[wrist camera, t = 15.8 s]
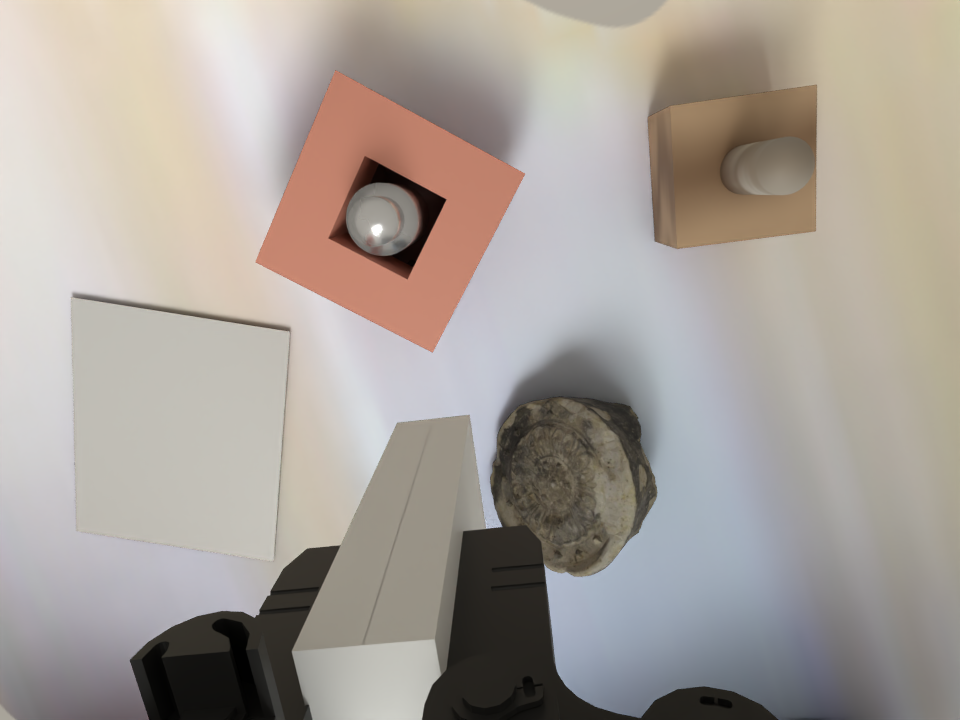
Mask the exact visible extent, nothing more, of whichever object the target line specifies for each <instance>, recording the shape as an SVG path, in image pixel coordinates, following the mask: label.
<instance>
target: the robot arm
mask: <svg viewBox="0 0 960 720" xmlns="http://www.w3.org/2000/svg"><path fill="white" fill-rule="evenodd" d="M270 592H271V595H270V596H267V598H266V600H265V602H264V603H263V605H262V607H261V608H260V610H259V612H260V613H259V615H256V617H255V618H254V617H252V616H250V615H248V614H246V613H244V612H230V611H221V612H216V613H211V614H206V615H201V616H197V617H195V618H192V619H190V620H188V621H185V622H183V623H180V624H178V625H175V626H173V627H171V628H170V629H168V630H167V631H165V632H163V633H162V634H160V635H159V636H157V637H156V638H154V639H152V640H151V641H149V642H148V643H147V644H146V645H145V646H144V647H143V648H142V649H141V650H140V651H139V652H138V653H137V654H136V655H135V656H133V657H132V658H131V659H130V662H131V665H132V668H133V671H134V675H135V678H136V681H137V684H138V687H139V690H140V693H141V696H142V699H143V702H144V705H145V708H146V711H147V714H148V717H149V720H778V719H777V718H776V717H775V716H774V715H772V714H771V713H770V712H769V711H768V710H767V709H765V708H764V707H763V706H762V705H760V704H758V703H756V702H754V701H752V700H750V699H748V698H746V697H744V696H741V695H739V694H737V693H735V692H732V691H727V690H721V689H715V688H710V687H695V688H686V689H677V690H675V691H673V692H671V693H669V694H667V695H665V696H663V697H661V698H659V699H657V700H655V701H654V703H653V704H652V705H651V706H650V708H649V709H648V710H647V711H646V712H645V714H644V715H643V716H642V717H641V718H636V717H632V716H627V715H622V714H617V713H613V712H610V711H607V710H603V709H600V708H597V707H594V706H593V705H591V704H589V703H587V702H585V701H584V700H582V699H580V698H578V697H577V696H576V695H575V694H574V693H573V692H572V691H570V690H569V689H568V688H567V687H566V686H565V684H564V683H563V681H562V680H561V678H560V677H559V675H558V674H557V670H556V665H555V656H554V646H553V637H552V628H551V619H550V611H549V602H548V594H547V586H546V577H545V569H544V560H543V552H542V544H541V541H540V540H539V539H538V538H537V536H536V535H535V534H534V533H533V532H532V531H531V530H530V529H529V528H528V526H527V525H520V526H510V527H500V528H490V529H486V525H485V519H484V512H483V505H482V498H481V491H480V484H479V477H478V470H477V463H476V456H475V449H474V442H473V435H472V428H471V421H470V415H464V416H455V417H446V418H437V419H428V420H419V421H410V422H401V423H397V424H396V427H395V429H394V431H393V433H392V435H391V437H390V440H389V442H388V444H387V446H386V448H385V450H384V453H383V455H382V457H381V459H380V461H379V463H378V466H377V468H376V470H375V472H374V474H373V476H372V479H371V481H370V483H369V485H368V487H367V489H366V492H365V494H364V496H363V498H362V500H361V502H360V505H359V507H358V509H357V511H356V513H355V515H354V518H353V520H352V522H351V524H350V526H349V528H348V531H347V533H346V535H345V537H344V539H343V541H342V544H341V545H340V546H330V547H320V548H309V549H306V550H305V551H304V552H303V553H302V554H300V555H299V556H298V557H297V558H296V559H295V560H293V561H292V562H291V563H290V564H289V565H288V566H286V567H285V568H284V569H283V571H282V572H281V574H280V576H279V578H278V579H277V581H276V583H275V584H274V586H273V588H272V590H271V591H270Z"/></svg>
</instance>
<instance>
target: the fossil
mask: <svg viewBox="0 0 960 720" xmlns="http://www.w3.org/2000/svg"><path fill="white" fill-rule="evenodd" d="M640 437H641V426H640V424H639V422H638V417H637V415H636V414H635V413H634V412H633V410H632V409H631V407H630V406H626V405H623V404H618V403H607V402H602V401H598V400H595V399H587V398H570V397H552V398H548V399H543V400H537V401H531V402H528V403H526V404H523V405H520V406H518V407H517V408H516V410H515V411H514V412H513V413H511V415H510V416H509V417H508V419H507V420H506V421H505V422H504V424H503V425H502V427H501V428H500V430H499V433H498V435H497V459H496V460H495V461H494V463H493V472H492V474H491V477H490V482H491V492H492V495H493V499H494V505H495V509H496V511H497V514H498V518H499V520H500V522H501V524H502V527H510V526H520V525H527V526H528V528H529V529H530V530H531V531H532V532H533V533H534V534H535V535H536V536H537V538H538V539H539V540H540V541H541V544H542V552H543V560H544V564H545V565H546V567H547V568H548V569H550V570H552V571H555V572H558V573H564V572H568V573H569V574H571V575H573V576H578V577H583V576H589V575H592V574H595V573H598V572H599V571H601V570H603V569H605V568H606V567H607V566H608V565H609V564H610V563H611V562H612V561H613V560H614V559H615V557H616V556H617V555H618V553H619V552H620V551H621V549H622V548H623V547H624V546H625V544H626V543H627V542H628V541H629V540H630V539H631V538H632V537H633V536H634V535H636V534H637V533H639V529H640V528H641V525H642V522H643V520H644V519H645V517H646V515H647V514H648V512H649V510H650V509H651V507H652V505H653V503H654V502H655V500H656V497H657V487H656V484H655V477H654V475H653V473H652V470H651V467H650V464H649V461H648V459H647V457H646V455H645V453H644V451H643V449H642V446H641V444H640Z"/></svg>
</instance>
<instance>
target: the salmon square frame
mask: <svg viewBox="0 0 960 720" xmlns="http://www.w3.org/2000/svg"><path fill="white" fill-rule="evenodd" d="M379 163H380V164H381V165H383V166H385V167H387V168H389V169H391V170H393V171H394V172H396V173H398V174H400V175H402V176H404V177H406V178H408V179H409V180H411V181H413V182H415V183H417V184H419V185H421V186H422V187H424V188H426V189H428V190H430V191H432V192H434V193H436V194H437V195H439V196H441V197H443V198H445V199H447V200H446V202H445V204H444V206H443V208H442V210H441V212H440V214H439V216H438V218H437V220H436V222H435V224H434V227H433V229H432V231H431V233H430V235H429V237H428V239H427V241H426V243H425V245H424V247H423V249H422V251H421V253H420V255H419V257H418V259H417V261H416V263H415V265H414V267H412V266H410V265H408V264H406V263H404V262H402V261H400V260H398V259H396V258H394V257H393V256H391V255H388V256H378V255H373V254H370V253H368V252H366V251H364V250H363V249H361V248H360V247H359V246H358V245H357V244H356V243H355V242H354V241H353V239H352V238H351V236H350V234H348V228H347V224H346V211H347V207H348V204H349V202H350V200H351V198H352V197H353V196H354V194H355V193H356V192H357V191H358V190H360V189H361V188H363V187H365V186H366V185H369V184H370V182H371V180H372V178H373V176H374V174H375V171H376V169H377V167H378V165H379ZM524 175H525V173H523V172H521V171H519V170H517V169H515V168H514V167H512V166H510V165H508V164H506V163H504V162H503V161H501V160H499V159H497V158H495V157H494V156H492V155H490V154H488V153H486V152H484V151H483V150H481V149H479V148H477V147H475V146H473V145H472V144H470V143H468V142H466V141H464V140H462V139H461V138H459V137H457V136H455V135H453V134H451V133H450V132H448V131H446V130H444V129H442V128H440V127H439V126H437V125H435V124H433V123H431V122H429V121H428V120H426V119H424V118H422V117H420V116H418V115H417V114H415V113H413V112H411V111H409V110H407V109H406V108H404V107H402V106H400V105H398V104H397V103H395V102H393V101H391V100H389V99H387V98H386V97H384V96H382V95H380V94H378V93H376V92H375V91H373V90H371V89H369V88H367V87H365V86H364V85H362V84H360V83H358V82H356V81H354V80H353V79H351V78H349V77H347V76H345V75H343V74H342V73H340V72H338V71H336V70H335V72H334V75H333V77H332V80H331V82H330V84H329V87H328V89H327V92H326V94H325V96H324V99H323V101H322V104H321V106H320V108H319V111H318V113H317V116H316V118H315V120H314V123H313V125H312V127H311V130H310V132H309V135H308V137H307V139H306V142H305V144H304V147H303V149H302V151H301V154H300V156H299V159H298V161H297V163H296V166H295V168H294V171H293V173H292V175H291V178H290V180H289V183H288V185H287V187H286V190H285V192H284V195H283V197H282V199H281V202H280V204H279V207H278V209H277V211H276V214H275V216H274V219H273V221H272V223H271V226H270V228H269V231H268V233H267V235H266V238H265V240H264V243H263V245H262V247H261V250H260V252H259V255H258V257H257V259H256V263H258V264H260V265H262V266H264V267H266V268H268V269H270V270H272V271H274V272H276V273H278V274H280V275H282V276H283V277H285V278H287V279H289V280H291V281H293V282H295V283H297V284H299V285H301V286H303V287H305V288H307V289H309V290H311V291H313V292H315V293H317V294H319V295H321V296H323V297H325V298H327V299H329V300H331V301H333V302H334V303H336V304H338V305H340V306H342V307H344V308H346V309H348V310H350V311H352V312H354V313H356V314H358V315H360V316H362V317H364V318H366V319H368V320H370V321H372V322H374V323H376V324H378V325H380V326H382V327H383V328H385V329H387V330H389V331H391V332H393V333H395V334H397V335H399V336H401V337H403V338H405V339H407V340H409V341H411V342H413V343H415V344H417V345H419V346H421V347H423V348H425V349H427V350H429V351H431V352H433V351H434V349H435V347H436V345H437V343H438V341H439V339H440V337H441V335H442V333H443V332H444V330H445V328H446V326H447V324H448V322H449V320H450V318H451V316H452V314H453V312H454V310H455V308H456V306H457V304H458V303H459V301H460V299H461V297H462V295H463V293H464V291H465V289H466V287H467V285H468V283H469V281H470V279H471V277H472V276H473V274H474V272H475V270H476V268H477V266H478V264H479V262H480V260H481V258H482V256H483V254H484V252H485V250H486V248H487V247H488V245H489V243H490V241H491V239H492V237H493V235H494V233H495V231H496V229H497V227H498V225H499V223H500V221H501V220H502V218H503V216H504V214H505V212H506V210H507V208H508V206H509V204H510V202H511V200H512V198H513V196H514V194H515V192H516V191H517V189H518V187H519V185H520V183H521V181H522V179H523V177H524Z"/></svg>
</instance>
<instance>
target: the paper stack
mask: <svg viewBox="0 0 960 720" xmlns="http://www.w3.org/2000/svg"><path fill="white" fill-rule="evenodd" d="M71 326H72V367H73V408H74V449H75V491H76V531H78V532H85V533H91V534H98V535H104V536H111V537H117V538H123V539H130V540H136V541H143V542H149V543H156V544H162V545H168V546H175V547H181V548H188V549H194V550H201V551H207V552H213V553H220V554H226V555H233V556H239V557H246V558H252V559H258V560H265V561H271V562H274V550H275V536H276V522H277V508H278V494H279V480H280V466H281V452H282V438H283V424H284V410H285V396H286V382H287V368H288V354H289V340H290V332H289V331H283V330H276V329H270V328H264V327H257V326H251V325H245V324H238V323H232V322H226V321H219V320H213V319H207V318H200V317H194V316H187V315H181V314H175V313H168V312H162V311H156V310H149V309H143V308H137V307H130V306H124V305H118V304H111V303H105V302H99V301H92V300H86V299H80V298H73V297H71Z"/></svg>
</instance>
